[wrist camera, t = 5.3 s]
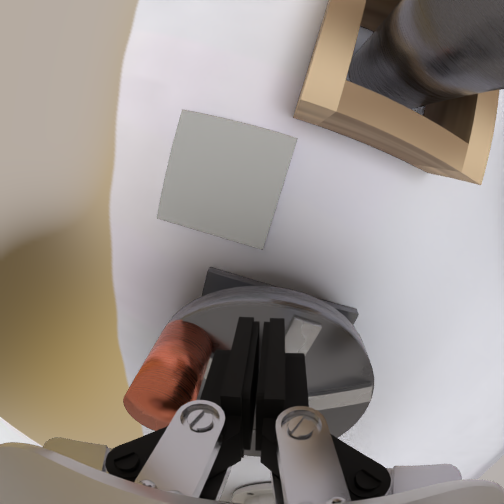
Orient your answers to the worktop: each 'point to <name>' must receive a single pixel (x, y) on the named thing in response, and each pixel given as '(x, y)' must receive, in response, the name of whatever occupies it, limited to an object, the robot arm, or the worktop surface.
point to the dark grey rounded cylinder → (434, 52)
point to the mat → (225, 177)
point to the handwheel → (296, 341)
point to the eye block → (392, 104)
